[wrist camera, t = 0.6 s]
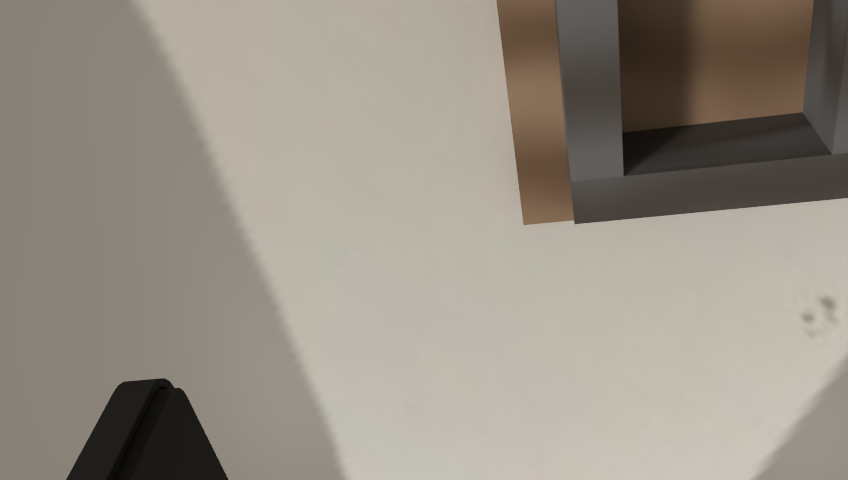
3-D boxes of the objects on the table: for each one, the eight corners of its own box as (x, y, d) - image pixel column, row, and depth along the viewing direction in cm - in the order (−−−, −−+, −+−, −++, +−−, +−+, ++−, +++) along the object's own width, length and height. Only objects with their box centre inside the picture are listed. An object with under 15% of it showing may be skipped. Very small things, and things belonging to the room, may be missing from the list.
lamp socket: (479, -157, 29) (475, -132, 25) (957, -241, 27) (1036, -227, 23) (523, 210, 38) (525, 271, 34) (885, 174, 36) (933, 236, 32)
